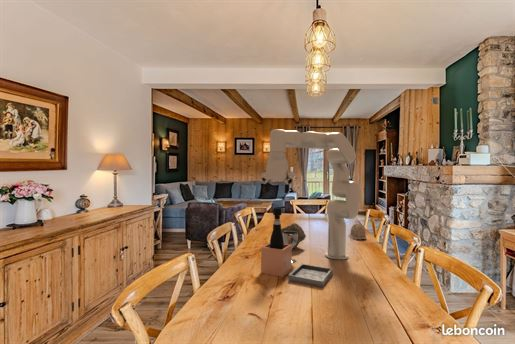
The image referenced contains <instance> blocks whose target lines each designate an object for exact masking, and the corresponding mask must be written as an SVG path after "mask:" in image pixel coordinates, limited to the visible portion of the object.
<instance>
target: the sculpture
mask: <svg viewBox="0 0 515 344" xmlns="http://www.w3.org/2000/svg"><path fill="white" fill-rule="evenodd" d="M349 237H350V238H349ZM348 238H349V239H351V238H352V239H351V240H354V239H365V240H366V239H367V235H366V229H365V227H364V225H362V224H360V223H354V224H353V225H352V226H351V228H350V232H349V234H348Z"/></svg>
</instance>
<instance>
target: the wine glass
mask: <svg viewBox="0 0 515 344" xmlns="http://www.w3.org/2000/svg"><path fill="white" fill-rule="evenodd" d="M297 239H298V232H295V231H284V232H283V241H284V244H289V245H292V249H294V248H293V247H294V246H295V245H296V243H297ZM296 263H297V260H296V259H294V258H292V263H291V264H296Z"/></svg>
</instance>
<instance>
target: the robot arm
mask: <svg viewBox="0 0 515 344" xmlns="http://www.w3.org/2000/svg"><path fill="white" fill-rule="evenodd" d="M269 136H270V138H269V140H270V141H269V145H270V146H269V153H267V154H266V155H267V157H269V158H268V159H267V163H266V169H265V171H263V172H262V173H260V177H261V180H262V181H263V183H264V186H265V187H264V190H265V193H270V192H271V189H270V188H271V183H270V182H271V181H283V182H284V193H285V194H289V192H290V185H291V183H292V182H294V180H295V179H296V174H294V173H292V172H290V171H289V163H288V158H287V155H286V154H287V148H298V149H299V148H300V149H317V150H327V151H326V154H325V155H326V160H327V162H328V163H329V164H330V165H331V168H332V170H333V173H332V174H333V176H332V185H331V194H332V195H333V196H334V197H336V198H340V199H331V200H329V201H328V203H327V204H326V214H327V220H328V222H327V224H328V225H327V226H328V229H327V251H326V252H324V257H326V258H328V259H332V260H341V261H342V260H347V259H349V254H348V253H346V251H347V250H346V248H347V247H346V244H347V238H346V237H347V224H346V221H345V219H346V220H354V219H355V218H357V216H358V214H359V210H360V209H359V208H360V200H361V193H362V192H361V187H360V184H359V182H357V181H354V180H350V170H349V167H348V166H347V165H348V164H353V163H354V162H355V161H356V157H357V154H356V151H355V149H354V147H353V145H351V143H350V141H349V140H348V138H347V137H346V136H345V135H344V134H343V133H341V132H340V131H339V132H338V131H337V132H320V131H319V132H317V131H306V132H305V131H304V132H300V131H298V130H295V129H293V130H285V129H278V128H277V129H272V130H271V131H270V134H269ZM289 177H290V179H289ZM341 198H342V199H341ZM344 199H346V200H344Z"/></svg>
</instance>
